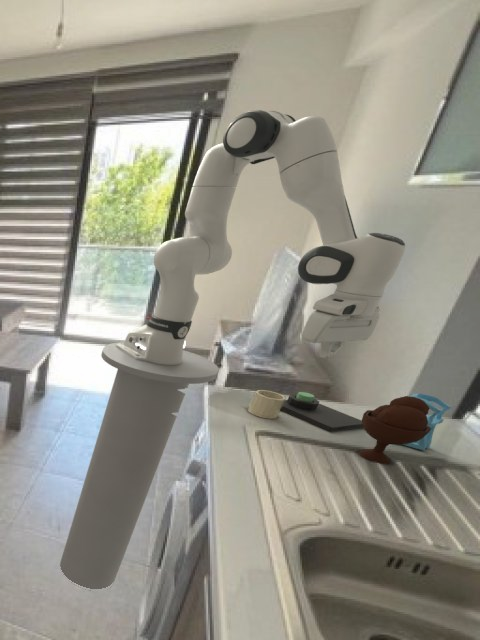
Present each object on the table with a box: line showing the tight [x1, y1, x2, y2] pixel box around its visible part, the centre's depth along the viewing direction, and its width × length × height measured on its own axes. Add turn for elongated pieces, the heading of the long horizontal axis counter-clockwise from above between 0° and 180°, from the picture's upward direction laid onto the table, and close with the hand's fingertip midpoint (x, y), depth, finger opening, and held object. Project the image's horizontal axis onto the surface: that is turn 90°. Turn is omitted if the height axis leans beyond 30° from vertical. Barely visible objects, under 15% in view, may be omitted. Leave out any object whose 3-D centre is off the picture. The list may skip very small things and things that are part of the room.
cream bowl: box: [247, 389, 287, 420], centre depth 128 cm, size 6×6×6 cm
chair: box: [402, 393, 452, 451], centre depth 115 cm, size 8×8×12 cm
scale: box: [280, 393, 364, 433], centre depth 129 cm, size 16×13×3 cm
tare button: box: [296, 391, 315, 402], centre depth 132 cm, size 4×4×2 cm
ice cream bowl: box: [358, 395, 432, 465], centre depth 106 cm, size 11×11×15 cm
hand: (325, 357), depth 126 cm, fingers closed
